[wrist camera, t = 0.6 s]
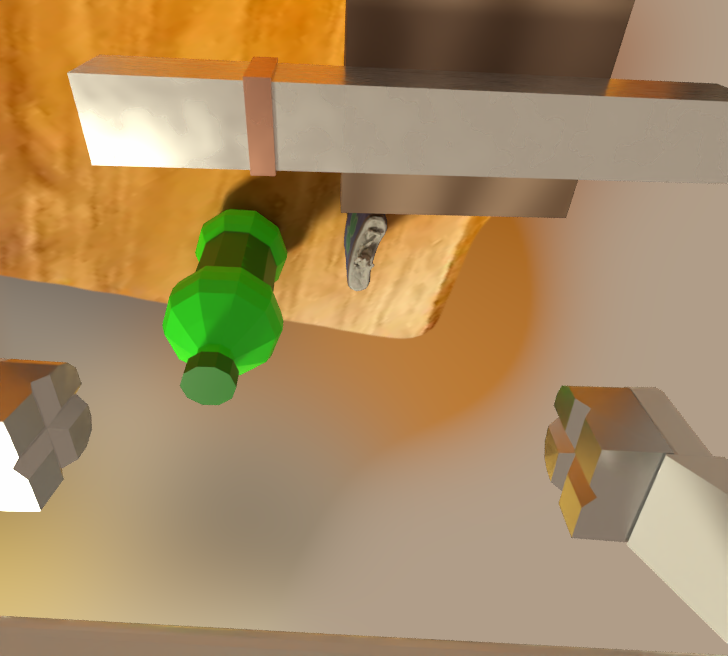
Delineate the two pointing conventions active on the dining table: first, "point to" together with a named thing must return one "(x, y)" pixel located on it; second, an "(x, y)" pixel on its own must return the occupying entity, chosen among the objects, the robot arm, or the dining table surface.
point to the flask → (362, 246)
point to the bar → (397, 121)
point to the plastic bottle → (227, 305)
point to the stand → (485, 55)
